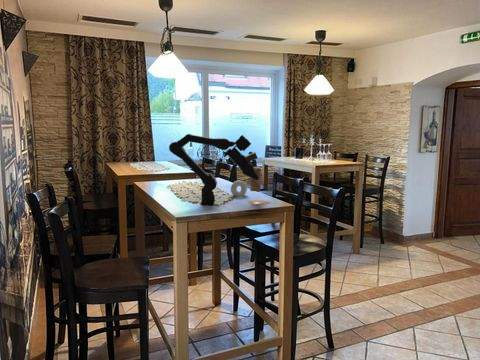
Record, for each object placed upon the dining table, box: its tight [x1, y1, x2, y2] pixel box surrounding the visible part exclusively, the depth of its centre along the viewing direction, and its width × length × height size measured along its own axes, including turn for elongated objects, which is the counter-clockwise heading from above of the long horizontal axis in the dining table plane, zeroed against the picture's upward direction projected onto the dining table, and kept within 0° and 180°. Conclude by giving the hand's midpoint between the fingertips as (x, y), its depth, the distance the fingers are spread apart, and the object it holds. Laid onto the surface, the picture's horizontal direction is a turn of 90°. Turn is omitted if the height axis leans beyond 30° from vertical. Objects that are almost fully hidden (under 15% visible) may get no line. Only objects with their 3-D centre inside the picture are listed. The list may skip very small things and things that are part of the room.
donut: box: [230, 180, 248, 197], centre depth 221 cm, size 10×4×10 cm, turn 115°
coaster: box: [247, 199, 271, 206], centre depth 204 cm, size 12×12×1 cm
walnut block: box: [249, 166, 262, 192], centre depth 202 cm, size 5×5×12 cm
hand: (258, 178), depth 202 cm, fingers closed on walnut block, 5 cm apart
